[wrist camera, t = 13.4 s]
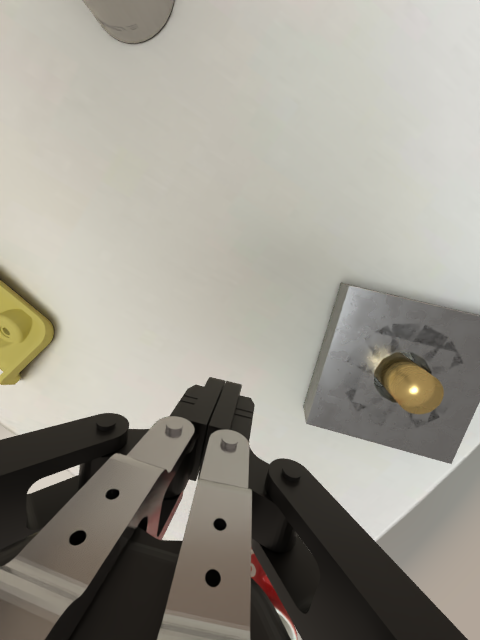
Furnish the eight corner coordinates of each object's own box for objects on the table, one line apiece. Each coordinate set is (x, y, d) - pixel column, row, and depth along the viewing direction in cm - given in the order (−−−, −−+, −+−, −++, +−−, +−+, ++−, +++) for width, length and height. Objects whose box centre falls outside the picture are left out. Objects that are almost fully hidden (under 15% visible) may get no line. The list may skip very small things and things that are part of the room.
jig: (341, 282, 33) (349, 285, 29) (485, 316, 32) (514, 324, 28) (303, 406, 36) (306, 423, 32) (432, 441, 35) (451, 463, 31)
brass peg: (375, 344, 34) (405, 368, 26) (410, 352, 33) (450, 379, 26) (365, 375, 35) (390, 407, 27) (398, 384, 34) (434, 419, 26)
